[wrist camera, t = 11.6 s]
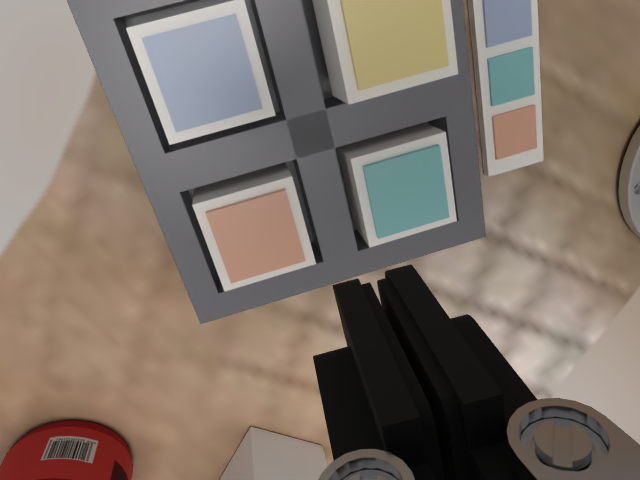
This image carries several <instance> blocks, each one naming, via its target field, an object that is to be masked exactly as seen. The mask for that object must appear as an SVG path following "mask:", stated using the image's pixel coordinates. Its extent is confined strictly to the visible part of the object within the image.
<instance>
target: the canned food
mask: <svg viewBox="0 0 640 480" xmlns="http://www.w3.org/2000/svg"><path fill="white" fill-rule="evenodd" d="M132 471H133V464H132V459H131V455H130V451H129V448H128V446H127V444H126V443H125V441H124V440H123V439H122V438H121V437H120V436H119V435H118V434H116V433H115V432H114V431H112V430H111V429H109V428H106V427H104V426H102V425H99V424H95V423H92V422H86V421H60V422H54V423H50V424H47V425H44V426H41V427H39V428H37V429H35V430H33V431H31V432H29V433H28V434H27V435H25V436H24V437H22V438H21V439H20V440H19V441H18V442H17V443H16V444H15V445H14V446H13V447H12V449H11V450H10V451H9V452H8V453H7V454H6V456H5V458H4V460H3V462H2V464H1V466H0V480H131V478H132Z"/></svg>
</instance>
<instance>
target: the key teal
mask: <svg viewBox="0 0 640 480" xmlns="http://www.w3.org/2000/svg"><path fill="white" fill-rule="evenodd" d="M337 150H338V154H339V159H340V163H341V168H342V172H343V177H344V181H345V186H346V190H347V195H348V199H349V203H350V208H351V212H352V217H353V221H354V226H355V227H356V229H357V230H358V232H359V233H360V235H361V236H362V237H363V239H364V240H365V242H366V243H367V245H368V246H369V247H373V246H377V245H380V244H383V243H386V242H390V241H393V240H396V239H400V238H403V237H406V236H409V235H413V234H416V233H419V232H423V231H426V230H429V229H432V228H436V227H439V226H442V225H446V224H449V223H452V222H456V221H457V218H456V210H455V202H454V194H453V186H452V178H451V170H450V162H449V154H448V146H447V138H446V132H445V131H443V130H441V129H438V128H436V127H434V126H432V125H430V124H427V123H425V122H424V123H421V124H417V125H414V126H410V127H407V128H403V129H400V130H396V131H393V132H389V133H386V134H382V135H379V136H375V137H372V138H368V139H365V140H361V141H358V142H354V143H351V144H347V145H344V146H340V147H337Z"/></svg>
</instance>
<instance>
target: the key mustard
mask: <svg viewBox="0 0 640 480" xmlns="http://www.w3.org/2000/svg"><path fill="white" fill-rule="evenodd" d="M312 2H313V7H314V11H315V16H316V21H317V25H318V30H319V34H320V39H321V43H322V48H323V53H324V57H325V62H326V66H327V71H328V76H329V80H330V85H331V89H332V94H333V96H334V97H336V98H338V99H340V100H341V101H343V102H345V103H347V104H348V105H349V104H353V103H357V102H360V101H364V100H367V99H371V98H374V97H378V96H382V95H385V94H389V93H392V92H396V91H399V90H403V89H407V88H410V87H414V86H417V85H421V84H425V83H428V82H432V81H435V80H439V79H442V78H446V77H450V76H453V75H457V74H458V67H457V57H456V48H455V39H454V29H453V20H452V11H451V2H450V0H312Z"/></svg>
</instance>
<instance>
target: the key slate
mask: <svg viewBox="0 0 640 480" xmlns="http://www.w3.org/2000/svg"><path fill="white" fill-rule="evenodd" d="M126 30H127V33H128V35H129V38H130V41H131V43H132V46H133V49H134V51H135V54H136V57H137V59H138V62H139V65H140V67H141V70H142V73H143V75H144V78H145V81H146V83H147V86H148V89H149V91H150V94H151V97H152V99H153V102H154V105H155V107H156V110H157V113H158V115H159V118H160V121H161V123H162V126H163V129H164V131H165V134H166V137H167V139H168V142H169V145H171V144H175V143H179V142H182V141H186V140H189V139H193V138H197V137H200V136H204V135H207V134H211V133H215V132H218V131H222V130H225V129H229V128H233V127H236V126H240V125H243V124H247V123H250V122H254V121H258V120H261V119H265V118H268V117H272V116H276V115H275V111H274V108H273V104H272V100H271V97H270V93H269V89H268V86H267V82H266V78H265V75H264V71H263V67H262V64H261V60H260V56H259V52H258V49H257V45H256V41H255V38H254V34H253V30H252V27H251V23H250V19H249V16H248V12H247V8H246V5H245V1H244V0H233V1H229V2H225V3H222V4H218V5H214V6H210V7H206V8H202V9H198V10H194V11H191V12H187V13H183V14H179V15H175V16H171V17H167V18H163V19H159V20H156V21H152V22H148V23H144V24H140V25H136V26H132V27H128V28H126Z"/></svg>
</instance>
